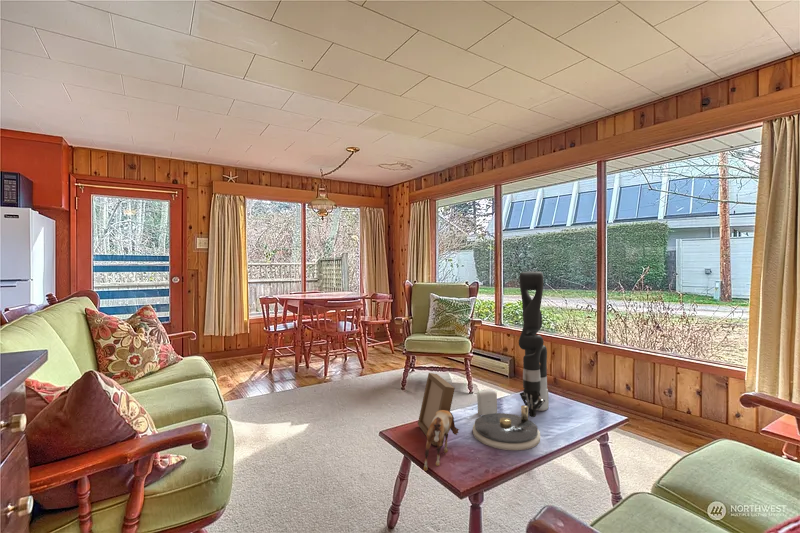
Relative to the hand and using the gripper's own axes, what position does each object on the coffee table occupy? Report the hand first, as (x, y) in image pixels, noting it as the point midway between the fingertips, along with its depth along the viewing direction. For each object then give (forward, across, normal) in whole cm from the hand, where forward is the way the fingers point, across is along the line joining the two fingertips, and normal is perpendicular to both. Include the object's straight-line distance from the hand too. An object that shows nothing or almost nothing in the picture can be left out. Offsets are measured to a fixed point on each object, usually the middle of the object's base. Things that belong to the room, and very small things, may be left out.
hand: (532, 416), depth 167 cm
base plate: (+7, +4, +12) cm, 15 cm away
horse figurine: (+7, +1, +48) cm, 48 cm away
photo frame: (+7, +20, +37) cm, 43 cm away
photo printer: (+7, +26, +3) cm, 28 cm away
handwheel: (+4, +4, +12) cm, 14 cm away
